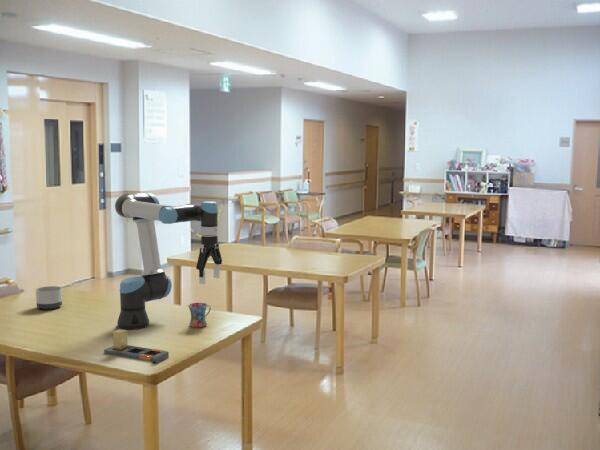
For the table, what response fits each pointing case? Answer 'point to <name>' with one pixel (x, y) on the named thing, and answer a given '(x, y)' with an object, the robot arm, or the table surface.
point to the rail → (140, 353)
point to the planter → (49, 297)
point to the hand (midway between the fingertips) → (209, 280)
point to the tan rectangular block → (120, 340)
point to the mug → (198, 314)
